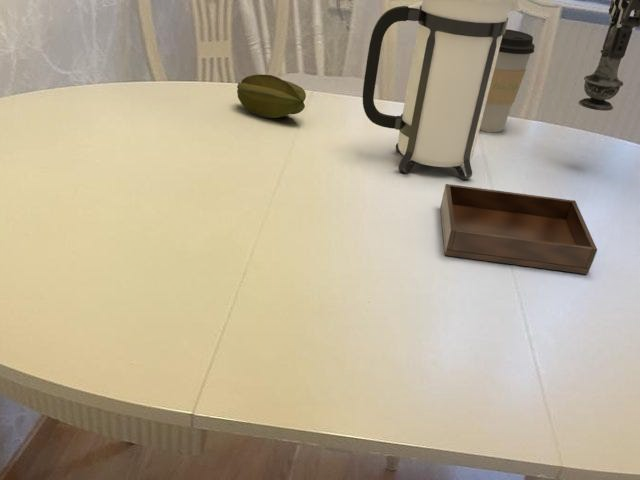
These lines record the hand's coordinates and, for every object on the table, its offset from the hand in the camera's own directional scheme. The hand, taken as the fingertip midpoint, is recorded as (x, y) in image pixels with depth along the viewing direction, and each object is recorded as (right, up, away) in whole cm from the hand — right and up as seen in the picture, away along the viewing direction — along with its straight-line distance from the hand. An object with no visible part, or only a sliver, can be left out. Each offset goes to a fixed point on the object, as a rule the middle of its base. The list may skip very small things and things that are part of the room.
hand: (612, 53), depth 114 cm
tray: (-19, -32, -13) cm, 40 cm away
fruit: (-52, 0, +19) cm, 55 cm away
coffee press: (-27, -14, +7) cm, 31 cm away
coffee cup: (-12, 0, +25) cm, 28 cm away
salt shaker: (-1, -6, +5) cm, 7 cm away
